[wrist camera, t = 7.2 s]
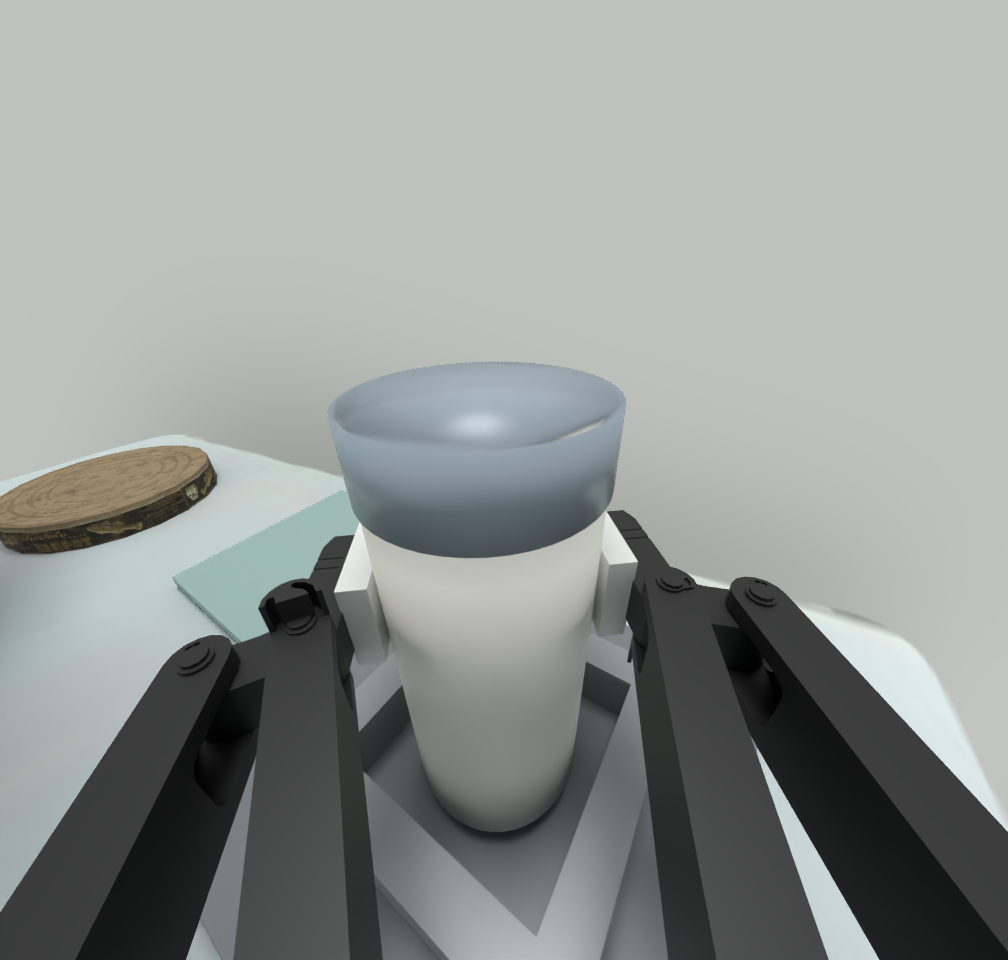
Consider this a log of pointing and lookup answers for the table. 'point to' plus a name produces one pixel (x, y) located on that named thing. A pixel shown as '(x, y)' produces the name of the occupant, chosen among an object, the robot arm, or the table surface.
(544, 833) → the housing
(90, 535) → the wood slice coaster
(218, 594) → the mat
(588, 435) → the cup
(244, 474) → the table surface
